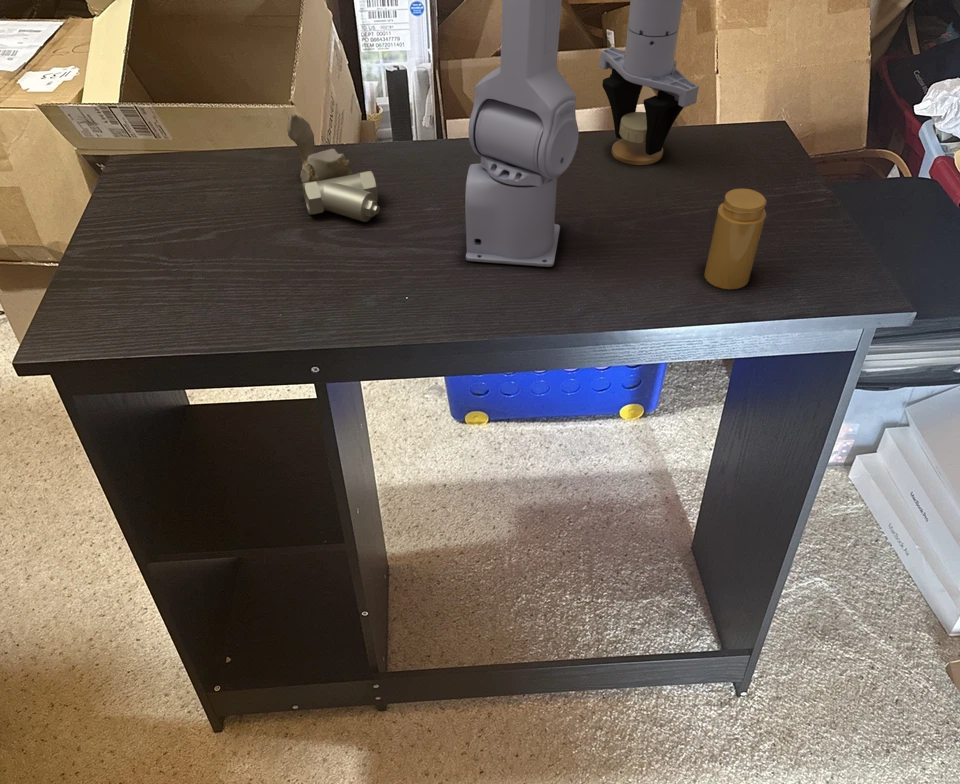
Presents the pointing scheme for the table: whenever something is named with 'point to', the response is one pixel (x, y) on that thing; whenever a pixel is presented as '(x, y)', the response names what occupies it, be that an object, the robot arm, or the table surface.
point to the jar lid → (634, 127)
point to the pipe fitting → (344, 196)
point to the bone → (315, 154)
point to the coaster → (634, 153)
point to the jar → (735, 239)
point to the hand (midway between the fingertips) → (638, 143)
